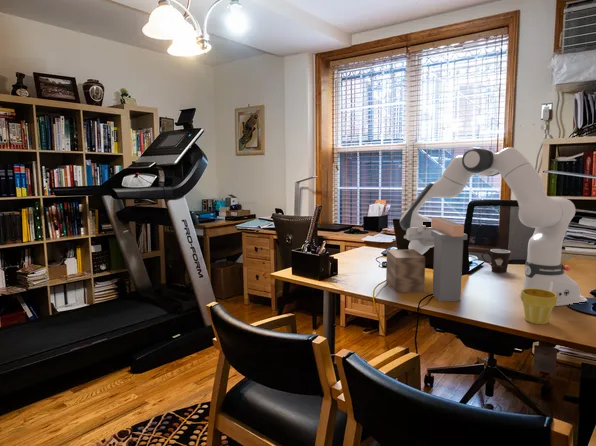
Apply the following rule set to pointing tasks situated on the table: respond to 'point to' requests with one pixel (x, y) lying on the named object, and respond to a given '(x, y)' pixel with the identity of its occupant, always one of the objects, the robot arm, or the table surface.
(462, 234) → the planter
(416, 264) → the walnut block
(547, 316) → the plant pot
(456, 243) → the pedestal shelf
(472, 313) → the table surface
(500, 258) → the coffee mug
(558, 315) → the table surface
